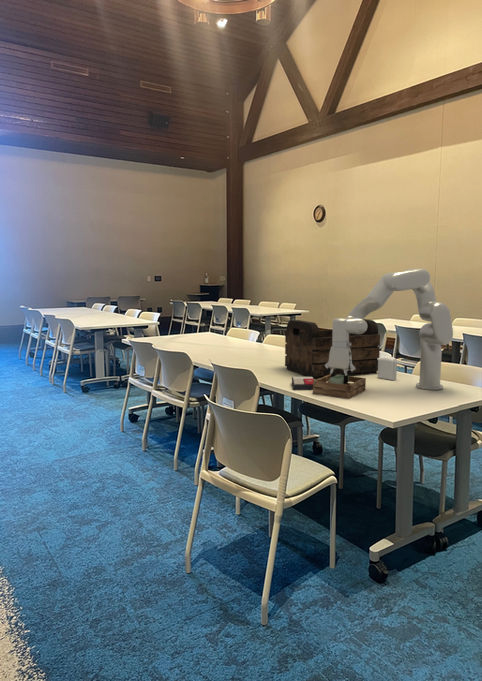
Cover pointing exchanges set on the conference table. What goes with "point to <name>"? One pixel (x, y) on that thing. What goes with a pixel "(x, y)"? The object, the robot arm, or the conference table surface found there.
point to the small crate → (338, 379)
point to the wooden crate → (328, 349)
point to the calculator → (302, 383)
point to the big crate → (339, 387)
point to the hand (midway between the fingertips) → (339, 382)
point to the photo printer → (387, 368)
